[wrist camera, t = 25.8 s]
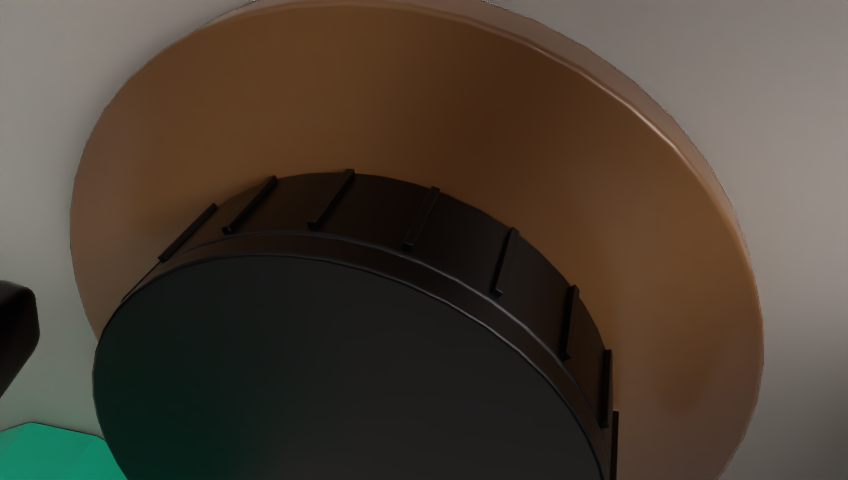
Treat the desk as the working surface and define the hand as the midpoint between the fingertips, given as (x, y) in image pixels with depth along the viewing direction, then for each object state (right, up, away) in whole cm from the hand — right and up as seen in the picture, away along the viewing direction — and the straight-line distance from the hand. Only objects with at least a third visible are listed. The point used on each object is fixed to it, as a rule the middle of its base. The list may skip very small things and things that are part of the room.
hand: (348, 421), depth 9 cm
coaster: (+1, +1, +2) cm, 2 cm away
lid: (0, 0, 0) cm, 0 cm away
